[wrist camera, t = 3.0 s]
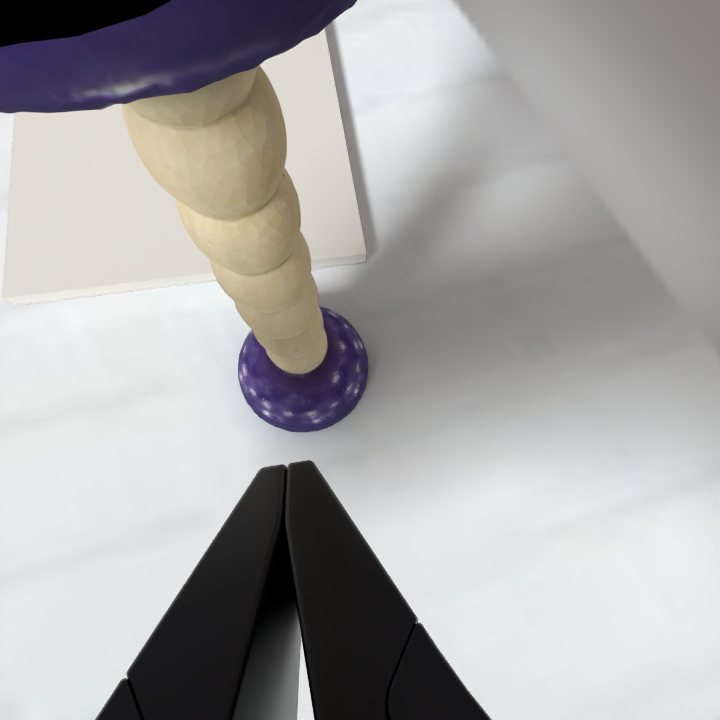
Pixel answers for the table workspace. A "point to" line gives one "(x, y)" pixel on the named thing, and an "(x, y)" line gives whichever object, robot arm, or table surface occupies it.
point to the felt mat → (160, 194)
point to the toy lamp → (207, 162)
